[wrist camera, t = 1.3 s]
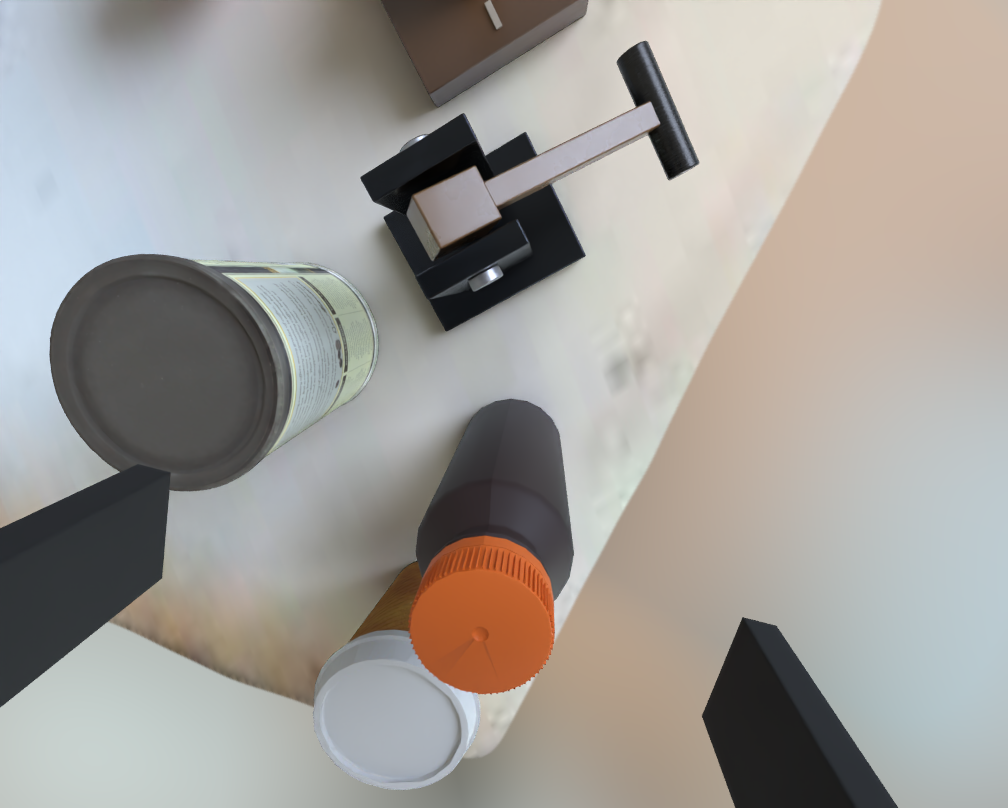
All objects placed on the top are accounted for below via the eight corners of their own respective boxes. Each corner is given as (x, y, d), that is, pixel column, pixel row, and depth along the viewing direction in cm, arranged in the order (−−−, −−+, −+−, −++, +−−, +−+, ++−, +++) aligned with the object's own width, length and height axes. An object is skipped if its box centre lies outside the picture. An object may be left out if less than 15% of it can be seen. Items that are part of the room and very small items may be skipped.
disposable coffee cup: (356, 621, 41) (283, 758, 29) (396, 519, 39) (335, 624, 27) (468, 667, 41) (440, 820, 30) (515, 568, 39) (505, 693, 27)
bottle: (543, 501, 38) (546, 743, 18) (452, 473, 38) (359, 685, 18) (574, 414, 36) (613, 578, 17) (479, 384, 36) (407, 514, 16)
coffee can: (297, 439, 38) (159, 532, 24) (203, 319, 36) (-2, 346, 22) (411, 360, 36) (331, 413, 22) (317, 229, 34) (168, 199, 20)
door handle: (631, 61, 24) (659, 28, 22) (680, 175, 25) (713, 155, 23) (384, 176, 21) (388, 152, 19) (451, 298, 22) (461, 289, 20)
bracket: (526, 136, 32) (514, 23, 18) (584, 256, 33) (617, 242, 19) (388, 219, 34) (274, 178, 19) (449, 330, 35) (385, 368, 21)
